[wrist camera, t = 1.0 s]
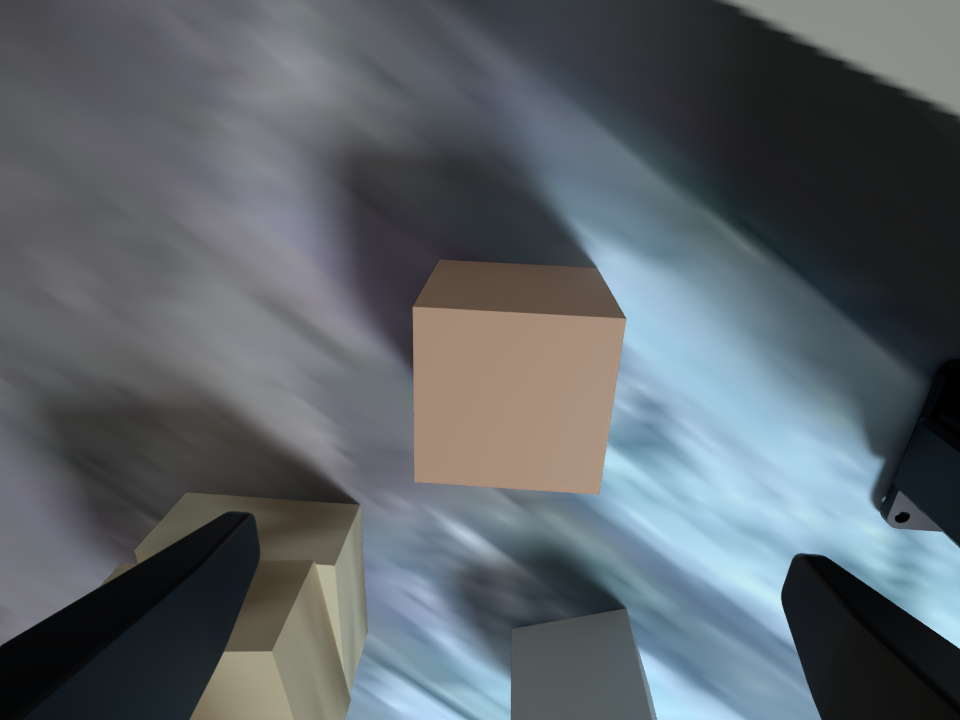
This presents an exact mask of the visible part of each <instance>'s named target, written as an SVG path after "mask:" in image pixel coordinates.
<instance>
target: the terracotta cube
mask: <svg viewBox="0 0 960 720" xmlns="http://www.w3.org/2000/svg"><path fill="white" fill-rule="evenodd" d="M625 324H626V317H625V316H624V314H623V312H622V310H621V309H620V307H619V305H618V303H617V302H616V300H615V298H614V296H613V295H612V293H611V291H610V289H609V288H608V286H607V284H606V282H605V281H604V279H603V277H602V275H601V274H600V272H599V270H598V268H591V267H572V266H553V265H534V264H515V263H496V262H477V261H458V260H439V261H438V263H437V265H436V267H435V268H434V270H433V272H432V274H431V275H430V277H429V279H428V281H427V283H426V284H425V286H424V288H423V290H422V291H421V293H420V295H419V297H418V298H417V300H416V302H415V304H414V306H413V370H414V465H415V482H424V483H439V484H453V485H467V486H482V487H496V488H511V489H525V490H540V491H554V492H569V493H583V494H598V495H599V492H600V486H601V479H602V473H603V466H604V460H605V453H606V447H607V440H608V434H609V427H610V421H611V414H612V408H613V401H614V395H615V388H616V382H617V376H618V369H619V363H620V356H621V350H622V343H623V337H624V330H625Z"/></svg>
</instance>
